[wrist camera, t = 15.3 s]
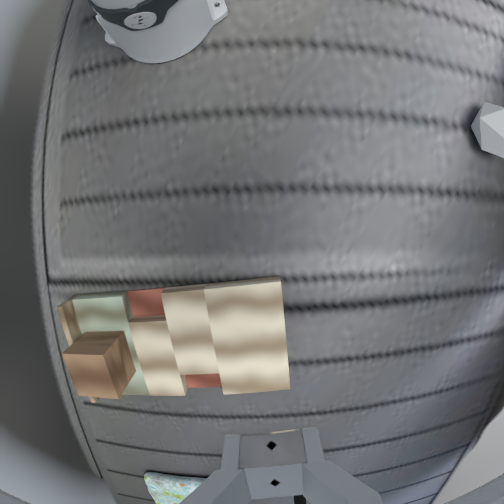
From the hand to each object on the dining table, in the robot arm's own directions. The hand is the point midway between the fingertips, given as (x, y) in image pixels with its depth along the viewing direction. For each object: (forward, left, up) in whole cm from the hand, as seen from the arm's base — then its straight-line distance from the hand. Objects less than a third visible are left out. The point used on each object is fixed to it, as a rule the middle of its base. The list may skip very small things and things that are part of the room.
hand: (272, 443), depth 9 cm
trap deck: (+13, -14, -34) cm, 39 cm away
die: (-15, +38, -34) cm, 53 cm away
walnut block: (+13, -25, -31) cm, 42 cm away
